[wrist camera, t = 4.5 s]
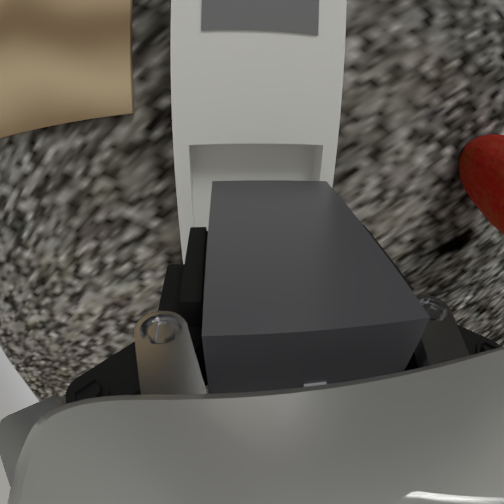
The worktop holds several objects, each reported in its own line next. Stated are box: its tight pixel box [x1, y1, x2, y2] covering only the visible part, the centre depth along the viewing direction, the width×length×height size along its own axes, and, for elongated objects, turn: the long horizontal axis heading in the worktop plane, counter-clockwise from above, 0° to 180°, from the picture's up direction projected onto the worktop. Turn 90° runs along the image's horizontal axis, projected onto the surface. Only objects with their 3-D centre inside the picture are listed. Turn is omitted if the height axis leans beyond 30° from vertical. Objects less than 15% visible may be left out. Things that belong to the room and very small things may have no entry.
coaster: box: [0, 0, 134, 138], centre depth 11 cm, size 12×12×1 cm
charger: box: [202, 180, 430, 394], centre depth 10 cm, size 4×5×8 cm
